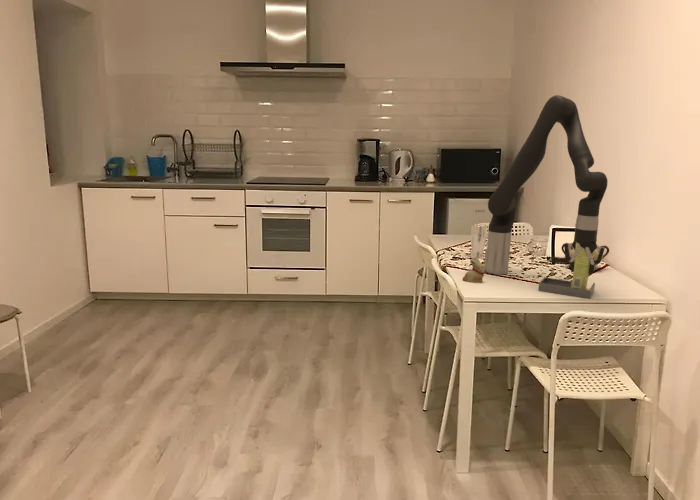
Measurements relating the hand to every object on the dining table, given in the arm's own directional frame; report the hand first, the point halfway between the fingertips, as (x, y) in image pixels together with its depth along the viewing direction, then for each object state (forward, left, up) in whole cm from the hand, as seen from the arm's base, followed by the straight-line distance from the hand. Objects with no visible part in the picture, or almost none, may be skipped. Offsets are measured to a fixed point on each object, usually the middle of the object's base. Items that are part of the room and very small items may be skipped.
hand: (581, 272), depth 219 cm
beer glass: (-50, +35, -8) cm, 61 cm away
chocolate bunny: (-38, -6, -8) cm, 39 cm away
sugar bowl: (-5, +42, -8) cm, 43 cm away
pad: (0, +5, -8) cm, 9 cm away
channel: (-5, +1, -8) cm, 9 cm away
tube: (0, 0, -7) cm, 7 cm away
